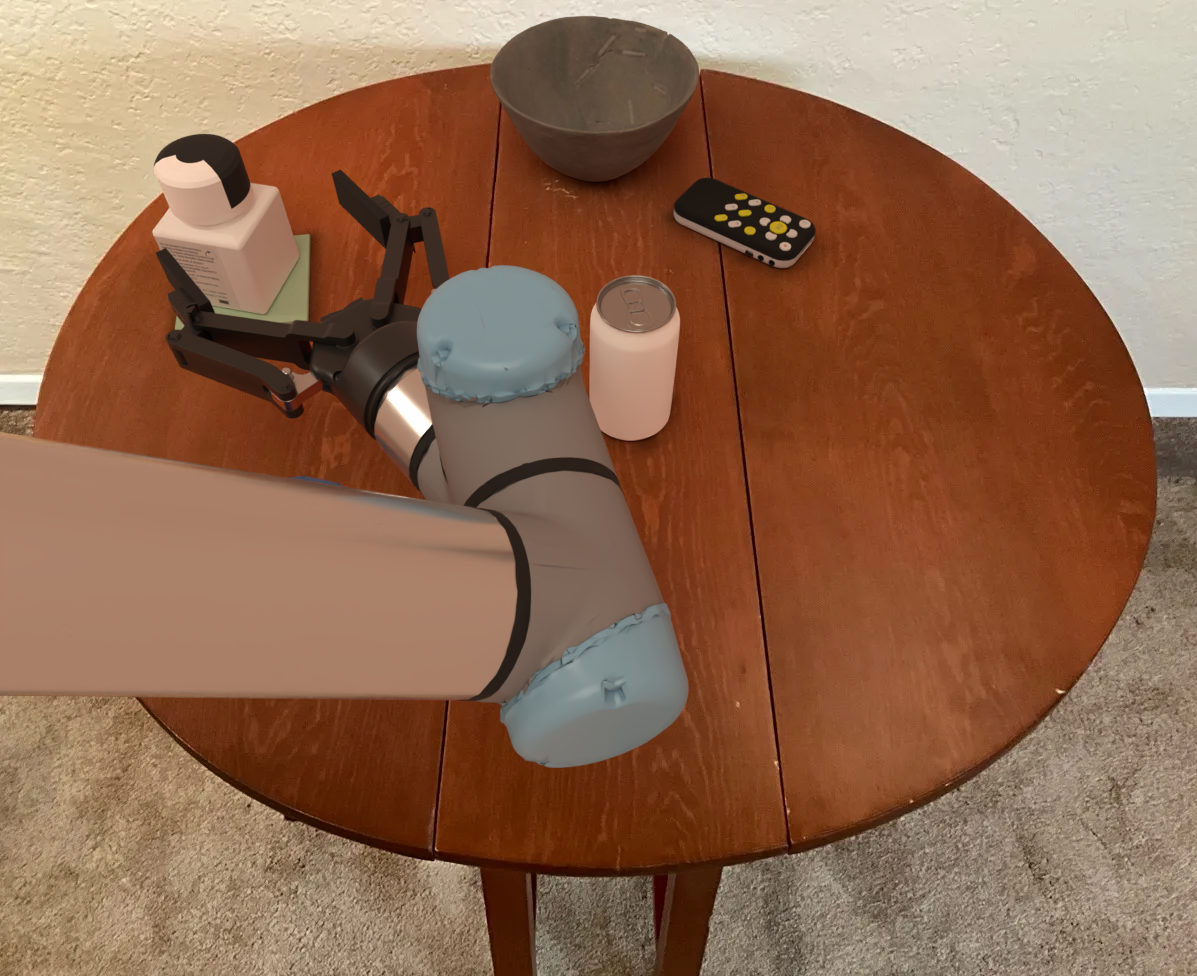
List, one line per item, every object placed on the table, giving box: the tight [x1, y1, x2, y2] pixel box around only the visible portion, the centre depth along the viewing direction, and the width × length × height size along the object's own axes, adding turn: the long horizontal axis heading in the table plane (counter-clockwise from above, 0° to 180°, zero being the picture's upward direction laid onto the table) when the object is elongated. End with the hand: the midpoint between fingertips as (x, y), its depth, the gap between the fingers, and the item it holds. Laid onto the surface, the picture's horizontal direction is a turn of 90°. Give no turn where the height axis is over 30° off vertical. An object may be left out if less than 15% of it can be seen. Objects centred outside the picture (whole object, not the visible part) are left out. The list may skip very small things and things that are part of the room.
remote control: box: [673, 177, 816, 269], centre depth 89 cm, size 6×13×2 cm, turn 55°
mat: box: [174, 233, 312, 330], centre depth 85 cm, size 11×11×1 cm
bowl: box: [489, 15, 700, 183], centre depth 91 cm, size 19×19×10 cm
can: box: [589, 274, 681, 442], centre depth 72 cm, size 6×6×12 cm
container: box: [152, 133, 299, 314], centre depth 79 cm, size 8×8×13 cm
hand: (256, 224), depth 69 cm, fingers open, 13 cm apart
